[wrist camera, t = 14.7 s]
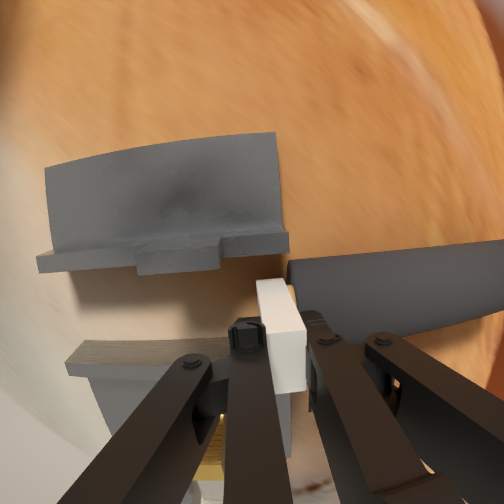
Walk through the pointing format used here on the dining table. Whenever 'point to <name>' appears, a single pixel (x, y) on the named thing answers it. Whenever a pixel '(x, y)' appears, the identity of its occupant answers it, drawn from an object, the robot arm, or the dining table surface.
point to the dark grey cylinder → (400, 288)
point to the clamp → (162, 243)
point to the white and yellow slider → (213, 465)
